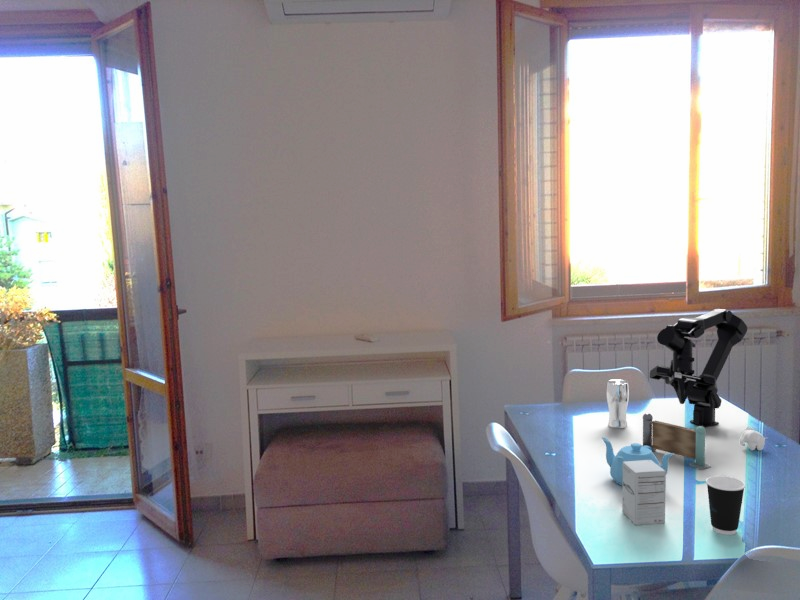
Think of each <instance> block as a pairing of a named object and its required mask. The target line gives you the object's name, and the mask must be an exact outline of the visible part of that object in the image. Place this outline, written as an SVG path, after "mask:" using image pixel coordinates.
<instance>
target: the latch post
mask: <svg viewBox="0 0 800 600" xmlns="http://www.w3.org/2000/svg"><path fill="white" fill-rule="evenodd" d="M694 430H695V431H696V451H695V459H694V460H695V462H691V463H689V464H688V466H690V467H692V468H695V469H698V470H700V471H702V470H706V469H710V468H712V465H710V464H707V463H706V432H707V431H706V427H704V426H701V425H698V426H697V427H696V428H695V429H694Z"/></svg>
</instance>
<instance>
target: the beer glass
mask: <svg viewBox="0 0 800 600" xmlns="http://www.w3.org/2000/svg"><path fill="white" fill-rule="evenodd" d="M606 384H607V387H606V402H607V407H608V412H609V417H608V418H609V419H608V424H607V426H608V427H610V428H611V429H618V430H619V429H626V428H627V427H628V422H627V410H628V404H629V397H630V391H629V389H630V387H629V382H628V380H625V379H624V380H623V379H610V380H608V381H607V383H606Z"/></svg>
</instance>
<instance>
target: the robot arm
mask: <svg viewBox="0 0 800 600" xmlns="http://www.w3.org/2000/svg"><path fill="white" fill-rule="evenodd" d="M713 327H715V328H716V334H717V341H716V343H715V344H714V348H713V350H712V352H711V354H710V355H709V358H708V360H707V362H706V364H705V367H704V369H703V370H702V372H701V374H700V375H694V374H695V370H694V369H693V362H695V357H693V348H696V344H695V342H694V341H692V339H690V338H693V339H699V338H700V337H701V336H703V335H704V334H705V331H706V330H708V329H710V328H713ZM747 332H748V326H747V324H746V323H745V322H744V320H743V319H742V318H740V317H739V316H737V315H735V314H733V313H732V311H731V310H729V309H727V308H726V309H725V308H715V309H713V310H712V311H709V312H706V313H704V314H702V315H699V316H697V317H684V318H683V317H681V318H679V319H678V320H677V322H676V323H675V324H673V325H671V324H666V327H664V328H663V329H661V330H660V332H659V333H658V334H657V336H656V339H657V342H658V344H659V345H661V346H663V347H664V348H666V349H667V350H669V351H671V352H672V359H671V360H670V365H669V366H664V365H659V364H658V365H656V366H654V368H653V367H652V369H651V370H650V372H649V379H651V380H655V381H656V380H657V381H659V380H664V383H665V384H666V385H670V386H671V387H672V388H673V389H674V392H675V394H676V397H677V399H678V402H679V404H680V405H684V404H685V402H686V400H688V404H689V405H693V411H692V412H693V413H692V415H693V417H692V419H690V420H689V422H690V423H692V424H694V423H695V425H698V426H702V427H704V428H707V427H710V426H716V425H719V424H720V422H718V421H716V409H720V407H721V405H722V399H721V398H720V396H719V394H718V391H719V390H718V386H717V385H718V384H717V380H718V379H719V377H720V374H721V373H722V370H723V368H724V366H725V363H726V362H727V359H728V357H729V355H730V353H731V351H732V349H733V347H734V346H735V345H737V344H739V343H740V342H742V340H743V339H744V337H745V335H746V334H747Z"/></svg>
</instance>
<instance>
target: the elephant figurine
mask: <svg viewBox="0 0 800 600" xmlns="http://www.w3.org/2000/svg"><path fill="white" fill-rule="evenodd" d="M768 438H769V437H768V436H767V437H765V436H763V435H762V433H760V432H759V431H757V430H755V429H754V428H753V427H752V426H748V427H746V428H745V429H744V431H743V432H742V434H741V436H740V438H739V440H738V442H739V445H740V446H741V447H745V446H746V444H747V447H748V448H749V450H750V451H755V450H756V449H757V450H758V451H760V452H761V451H763V449H764V447H765V444H766V439H768Z"/></svg>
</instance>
